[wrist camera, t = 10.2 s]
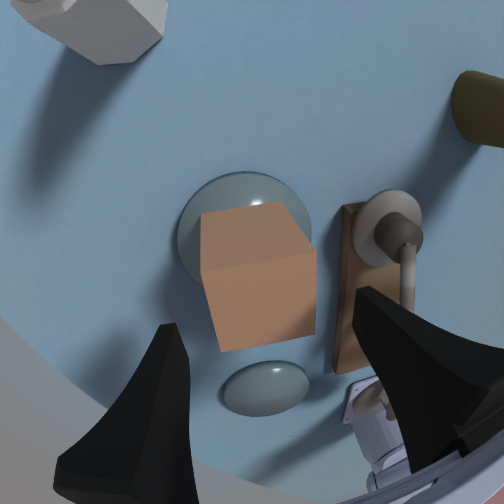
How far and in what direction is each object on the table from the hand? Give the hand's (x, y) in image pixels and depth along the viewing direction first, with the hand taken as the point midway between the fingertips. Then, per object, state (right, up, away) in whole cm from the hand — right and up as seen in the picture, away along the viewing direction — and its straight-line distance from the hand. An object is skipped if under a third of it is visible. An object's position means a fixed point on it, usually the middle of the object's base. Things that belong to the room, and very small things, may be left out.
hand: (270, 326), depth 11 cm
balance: (+8, -1, +11) cm, 14 cm away
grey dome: (-1, +4, +7) cm, 8 cm away
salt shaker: (-8, +15, 0) cm, 17 cm away
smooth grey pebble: (+1, -10, +15) cm, 18 cm away
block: (-1, +3, +6) cm, 7 cm away
